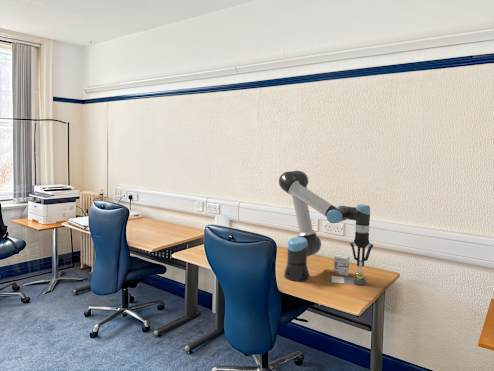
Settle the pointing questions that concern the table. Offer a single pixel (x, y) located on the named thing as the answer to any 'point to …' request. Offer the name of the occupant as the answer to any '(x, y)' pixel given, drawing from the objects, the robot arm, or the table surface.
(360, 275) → the button
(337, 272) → the ink box
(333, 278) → the board
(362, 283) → the button housing
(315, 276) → the table surface
